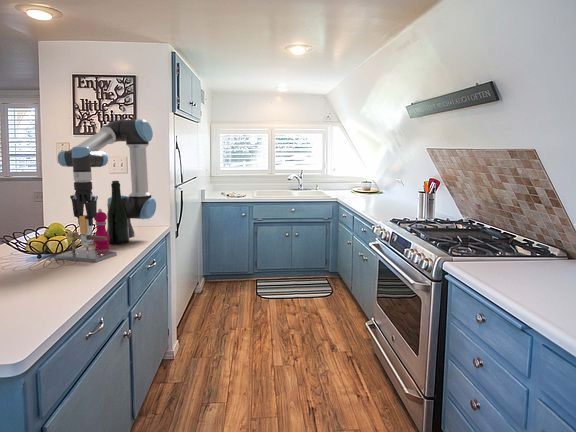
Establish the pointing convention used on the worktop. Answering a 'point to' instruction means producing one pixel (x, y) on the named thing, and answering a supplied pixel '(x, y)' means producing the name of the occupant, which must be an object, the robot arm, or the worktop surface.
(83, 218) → the block
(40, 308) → the worktop surface
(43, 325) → the worktop surface
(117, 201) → the beer bottle
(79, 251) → the bolt plate
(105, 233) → the pepper mill
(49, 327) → the worktop surface
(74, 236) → the wooden rod with block
